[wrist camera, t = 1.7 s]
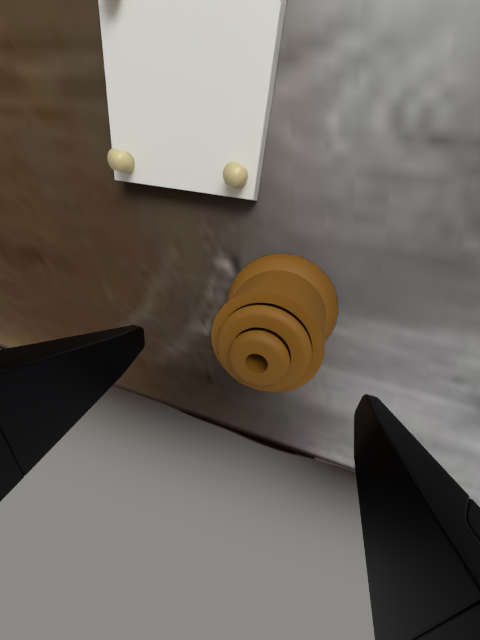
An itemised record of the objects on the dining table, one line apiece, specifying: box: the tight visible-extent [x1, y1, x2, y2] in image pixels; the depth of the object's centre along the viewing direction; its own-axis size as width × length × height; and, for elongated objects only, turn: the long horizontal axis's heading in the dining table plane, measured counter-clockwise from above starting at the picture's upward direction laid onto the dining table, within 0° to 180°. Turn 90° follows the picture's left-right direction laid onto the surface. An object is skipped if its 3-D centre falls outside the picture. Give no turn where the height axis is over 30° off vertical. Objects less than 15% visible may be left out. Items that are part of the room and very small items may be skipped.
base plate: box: [98, 0, 287, 201], centre depth 13 cm, size 10×10×2 cm
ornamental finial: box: [211, 254, 338, 392], centre depth 14 cm, size 8×8×8 cm
